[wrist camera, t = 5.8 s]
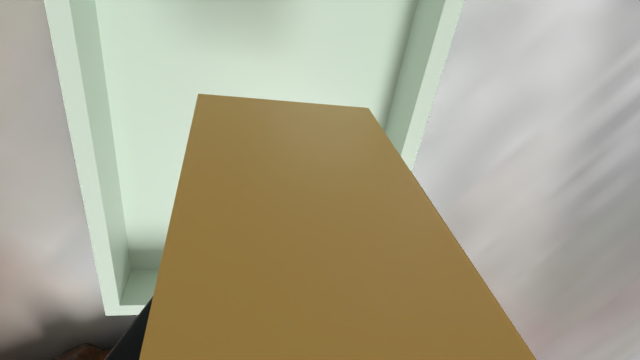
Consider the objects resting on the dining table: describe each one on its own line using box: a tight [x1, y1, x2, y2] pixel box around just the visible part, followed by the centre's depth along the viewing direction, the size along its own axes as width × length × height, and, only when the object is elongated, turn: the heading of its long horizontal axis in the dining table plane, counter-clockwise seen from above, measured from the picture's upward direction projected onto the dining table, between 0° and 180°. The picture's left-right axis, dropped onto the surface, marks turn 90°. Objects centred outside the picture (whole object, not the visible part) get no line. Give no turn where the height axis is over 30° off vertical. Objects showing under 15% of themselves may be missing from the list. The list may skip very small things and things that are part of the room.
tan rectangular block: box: [139, 94, 536, 360], centre depth 8 cm, size 4×6×8 cm, turn 171°
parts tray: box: [44, 0, 465, 316], centre depth 17 cm, size 13×20×3 cm, turn 171°
